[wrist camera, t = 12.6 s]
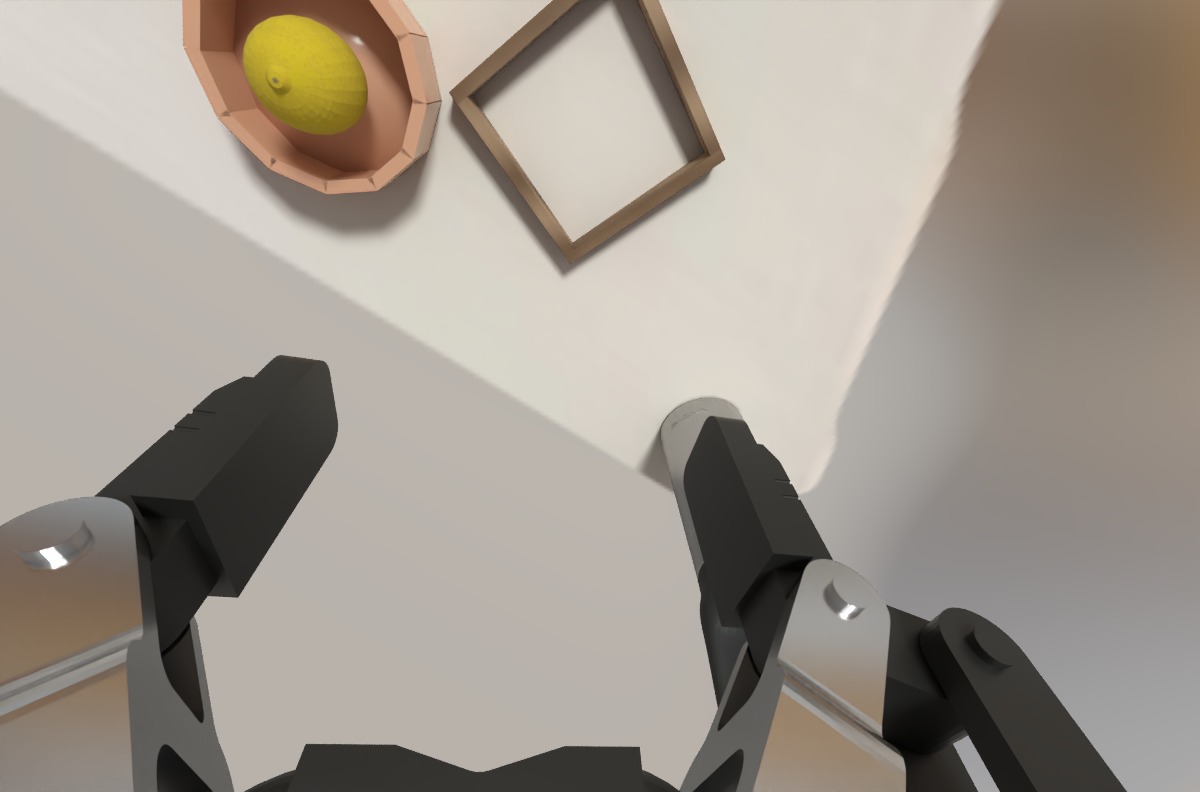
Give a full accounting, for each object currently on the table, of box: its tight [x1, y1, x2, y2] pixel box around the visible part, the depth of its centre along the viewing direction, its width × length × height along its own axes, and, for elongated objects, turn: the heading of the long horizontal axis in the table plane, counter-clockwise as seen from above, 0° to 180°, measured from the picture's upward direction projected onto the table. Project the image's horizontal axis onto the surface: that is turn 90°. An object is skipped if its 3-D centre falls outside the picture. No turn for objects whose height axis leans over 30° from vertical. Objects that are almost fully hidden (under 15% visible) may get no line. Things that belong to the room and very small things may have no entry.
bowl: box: [183, 0, 441, 194], centre depth 28 cm, size 13×13×4 cm
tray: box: [449, 0, 725, 264], centre depth 31 cm, size 14×14×2 cm
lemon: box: [243, 15, 368, 135], centre depth 25 cm, size 6×6×8 cm
